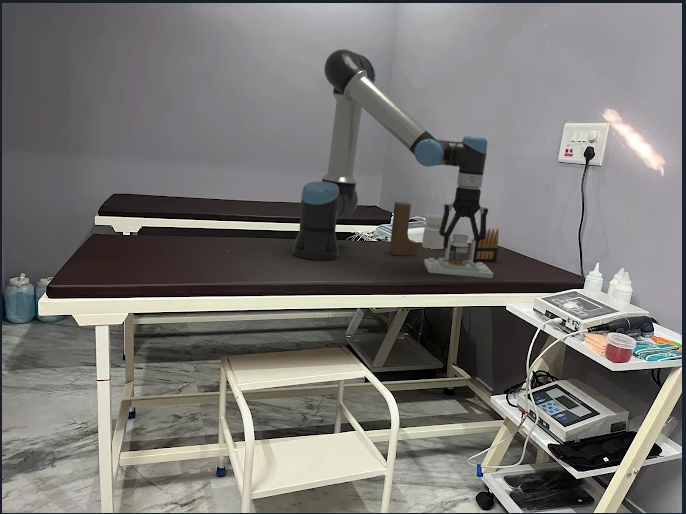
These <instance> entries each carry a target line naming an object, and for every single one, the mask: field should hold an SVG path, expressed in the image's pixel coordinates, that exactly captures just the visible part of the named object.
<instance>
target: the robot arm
mask: <svg viewBox="0 0 686 514" xmlns="http://www.w3.org/2000/svg"><path fill="white" fill-rule="evenodd" d="M324 63H325V64H324V75H325V78H326V80H327V82H328V83H329V85H331V86H332V87H333V92H332V96H333V97H334V99H335V101H336V103H335V111H334V119H333V126H332V127H333V128H332V133H331V134H332V135H331V136H332V137H331V143H330V152H329V159H328V160H329V161H328V168H327V172H326V174H324V175H323V176H322V178H321V181H311V182H307V183H305V184H304V186H303V187H302V192H301V196H300V197H301V201H300V203H301V205H300V219H299V231H298V233H297V236H296V238H295V241H294V243H293V246H292V254H293V255H294V256H295V257H298V258H302V259H307V260H314V261H330V260H336V259H337V258H339V253H340V250H339V244H338V240H337V236H336V226H337V220H339V219H343V218H347V217H348V216H350V215H351V214H352V213H354V211H355V210H356V208H357V206H358V203H359V195H358V192H357V190H356V186H357V181H356V179H355V178H354V170H355V169H354V167H355V161H356V152H357V147H358V146H357V145H358V140H359V138H358V137H359V133H360V132H359V131H360V126H361V125H360V124H361V117H362V109H363V110H364V111H366V112H367V113H368V114H369V115H370V116H371V117H372V118H373V119H375V120H376V122H377V123H379V124H380V125H381V126H382V127H383V128H384V129H386V131H388V132H389V133H390V134H391V135H392V136H393V137H394V138H395V139H396V140H398V141H399V143H401V144H402V145H403V146H404V147H405V148H407V150H408V151H409V152H410V153H412V154H413V155H414V157H415V159H416V160H415V161H417V162H418V163H419V165H422V166H423V167H424V166H425V167H435V166H441V165H442V166H448V167H449V166H450V167H458V174H457V181H456V185H457V187H456V190H455V198H454V201H453V202H452V203H449V204H448V203H445V204H444V205H443V214H442V215H443V219H442V223H441V227H440V230H439V234H440V235H441V236H443V237H444V243H443V246H444V249H445V254H444V258H446V259H449V254H450V245H451V242H452V238H451V237H450V236H451V235H452V232H453V230H454V229H455V228H456V226H457V224H458V222H459V220H460V219H461V218H467V219H469V220H470V221H469V222H470V226H471V229H472V235H473V239H474V240H473V239H471V243H470V248H469V253H468V255H469V256H468V260H470V261H473V257H474V251H477V250H478V244H479V241H480V240H484V239H485V238H486V237H487V234H486V230H487V215H488V213H489V209H488V208H487V207H482V206H481V205H480V199H481V193H482V191H481V188H482V187H483V178H484V172H485V165H486V158H487V154H488V153H487V150H488V139H487V138H485V137H480V136H479V137H478V136H470V135H465V136H464V137H463V138H462V141H451V140H443V139H436V137H434V136H433V135H432V134H431V133H430V132H428V130H427V129H426V128H424V127H423V126H422V125H421V124H420V123H419V122H417V120H415V119H414V118H413V117H412V116H411V115H410V114H409V113H408V112H406V110H404V109H403V108H402V107H401V106H400V105H399V104H398V103H397V102H396V101H394V100H393V98H391V97H390V96H389V95H388V94H387V93H385V92H384V91H383V89H382V88H380V87H379V86H378V85H377V84H375V81H376V70H375V67H374V65H373V63H372V62H371V61H370V60H369V59H368V58H367V57H366V56H365V55H362V54H359V53H356V52H353V51H351V50H348V49H343V48H342V49H337V50H335V51H333V52H332V53H330V54H329V56H328V57H327V58H326V61H325V62H324ZM452 209H454V212H455V213H454V215H453V217H452V219H451V222H450V223H449V224H448V225H449V226H448V227H447V225H446V224H447V220H448V217H450V212H451V211H452ZM478 211H479V214H480V220H479V223H480V227H479V229H477V228H478V226H477V225H478V224H477V221H476V216H475V215H476V214H477V212H478ZM445 228H446V229H447V231H446V232H445ZM479 231H480V235H479Z"/></svg>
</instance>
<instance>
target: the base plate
mask: <svg viewBox="0 0 686 514" xmlns="http://www.w3.org/2000/svg"><path fill="white" fill-rule="evenodd" d="M448 262H449V259H446V258H445V257H438V259H436V258H434V257H428V258H424V259H423V265H424V267H425V268H426V270H427V272H428V273H431V274H439V275H440V274H442V275H450V276H451V275H453V276H461V277H462V276H463V277H465V276H466V277H472V276H473V277H474V278H486V279H493V278H494V273H493V271H492V270H491V269H490V268H489V267H488V266H487V265H486V264H484V262H473V261H470V260H469V259H467V264H466V266H465V267H461V266H450V265H449V264H448Z"/></svg>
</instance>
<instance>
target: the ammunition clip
mask: <svg viewBox="0 0 686 514" xmlns="http://www.w3.org/2000/svg"><path fill="white" fill-rule="evenodd" d="M477 229H478V227H477ZM499 232H500V231H499V227H497V228H496V230H495V228H494V227H493V228H492V230H491V228H490V227H489V228H488V230H487V229H486V238H485V239H484V240H480V241H479V244H478V250H477V251H474V257H473V262H474V263H477V262H482V263H496V262H497V259H498V251H499V250H498V249H499V248H498V244H499ZM478 234H479V235H480V230H479V229H478ZM473 240H474V238H473Z"/></svg>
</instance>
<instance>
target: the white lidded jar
mask: <svg viewBox="0 0 686 514" xmlns="http://www.w3.org/2000/svg"><path fill="white" fill-rule="evenodd" d="M443 215H444V214H442V215H441V214H434V213H433V214H431V213H429V214H428V213H427V214H426V215H425V219H424V222H425V223H426V225H425V226H424V230H423V233H422V234H423V235H422V241H421V242H422V243H421V246H422V248H425V249H427V248H430V249H429V250H432V249H443V248H444V246H443V243H444V237H443V236H441V235H440V234H439V230H440V227H441V223H442V219H443ZM449 217H450V216H449ZM449 217H448V220H447V224H446V226H448V225H449V220H450V218H449ZM447 229H448V228H447V227H446V228H445V232H446V231H447ZM444 249H445V248H444ZM444 249H443V250H444Z"/></svg>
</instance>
